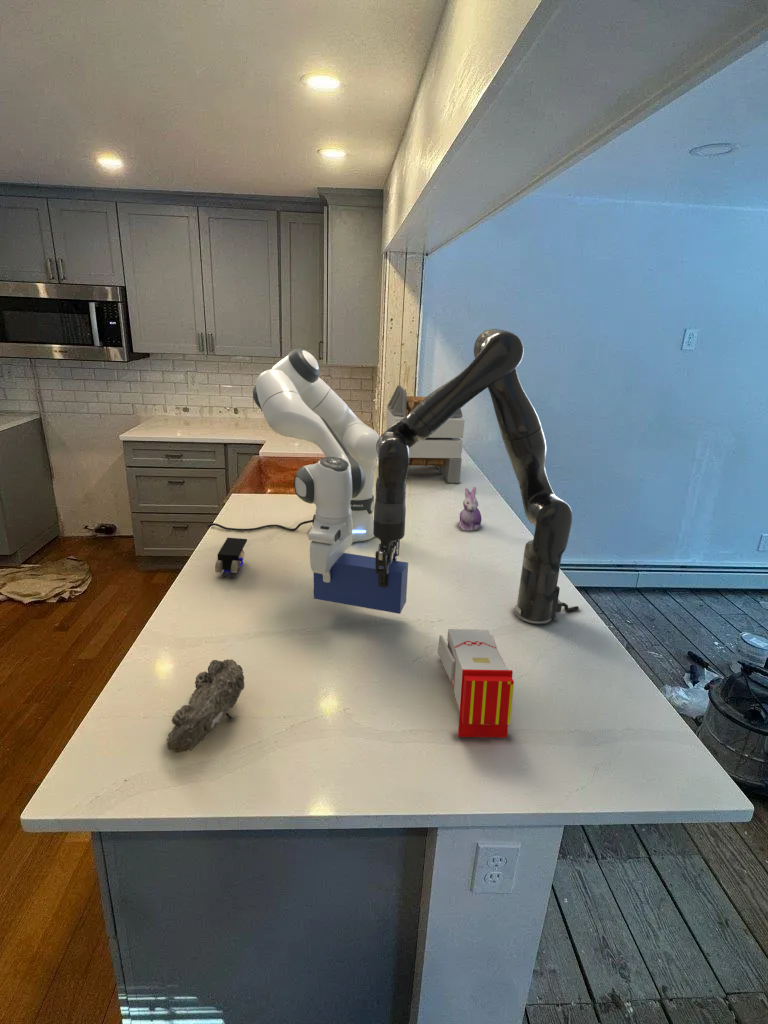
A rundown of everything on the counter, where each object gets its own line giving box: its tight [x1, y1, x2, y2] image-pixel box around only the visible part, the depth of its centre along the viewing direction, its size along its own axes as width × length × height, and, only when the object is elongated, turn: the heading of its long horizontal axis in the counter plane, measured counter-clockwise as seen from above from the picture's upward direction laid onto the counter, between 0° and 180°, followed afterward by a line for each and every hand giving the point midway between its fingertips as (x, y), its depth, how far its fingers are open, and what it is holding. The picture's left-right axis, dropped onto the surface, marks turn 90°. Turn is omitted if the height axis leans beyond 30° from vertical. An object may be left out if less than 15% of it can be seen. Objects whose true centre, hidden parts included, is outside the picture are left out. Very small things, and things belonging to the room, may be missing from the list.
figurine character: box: [214, 537, 248, 578], centre depth 166 cm, size 7×8×15 cm
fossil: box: [166, 658, 245, 754], centre depth 106 cm, size 22×10×15 cm
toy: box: [437, 628, 515, 738], centre depth 117 cm, size 12×13×30 cm
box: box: [312, 552, 409, 615], centre depth 142 cm, size 23×6×11 cm, turn 74°
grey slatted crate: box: [385, 384, 465, 484], centre depth 268 cm, size 34×33×41 cm
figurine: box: [458, 486, 482, 532], centre depth 206 cm, size 9×10×15 cm
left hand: (332, 574), depth 144 cm, fingers closed on box, 6 cm apart
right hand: (386, 580), depth 140 cm, fingers closed on box, 6 cm apart
